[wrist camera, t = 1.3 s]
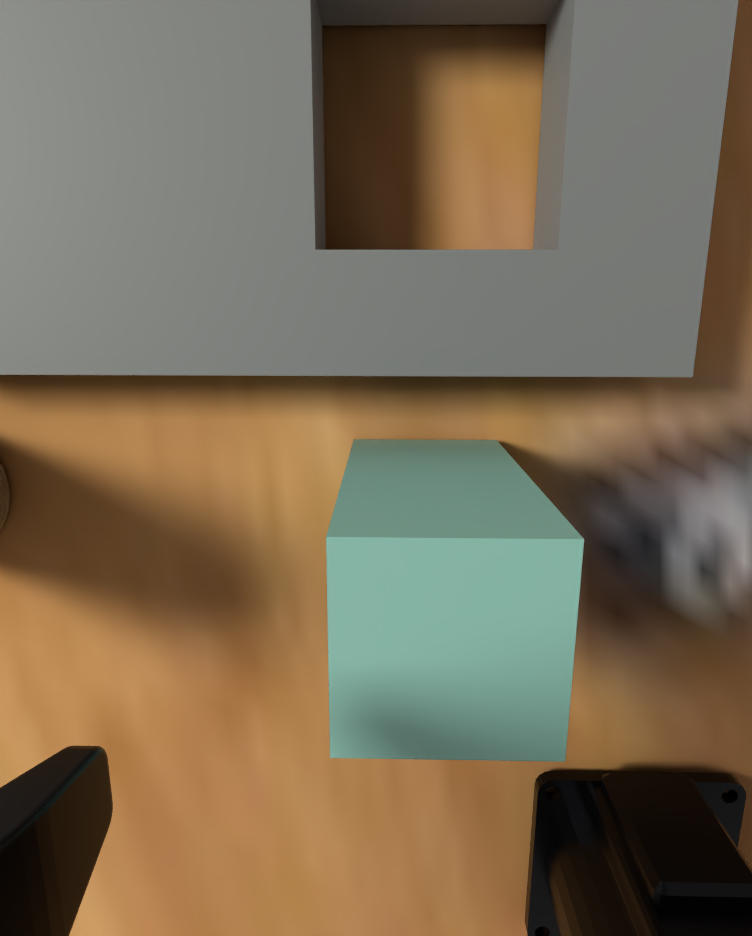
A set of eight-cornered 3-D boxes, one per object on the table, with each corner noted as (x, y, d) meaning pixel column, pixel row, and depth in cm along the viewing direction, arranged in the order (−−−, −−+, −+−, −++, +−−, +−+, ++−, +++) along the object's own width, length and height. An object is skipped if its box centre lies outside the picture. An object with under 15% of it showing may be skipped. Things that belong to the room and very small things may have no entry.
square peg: (490, 572, 18) (564, 761, 11) (354, 571, 18) (329, 757, 11) (496, 440, 17) (584, 539, 10) (353, 439, 17) (326, 537, 10)
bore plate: (648, 368, 17) (692, 377, 14) (-81, 366, 17) (-158, 374, 15) (698, -117, 14) (763, -206, 12) (-161, -108, 15) (-271, -193, 12)
